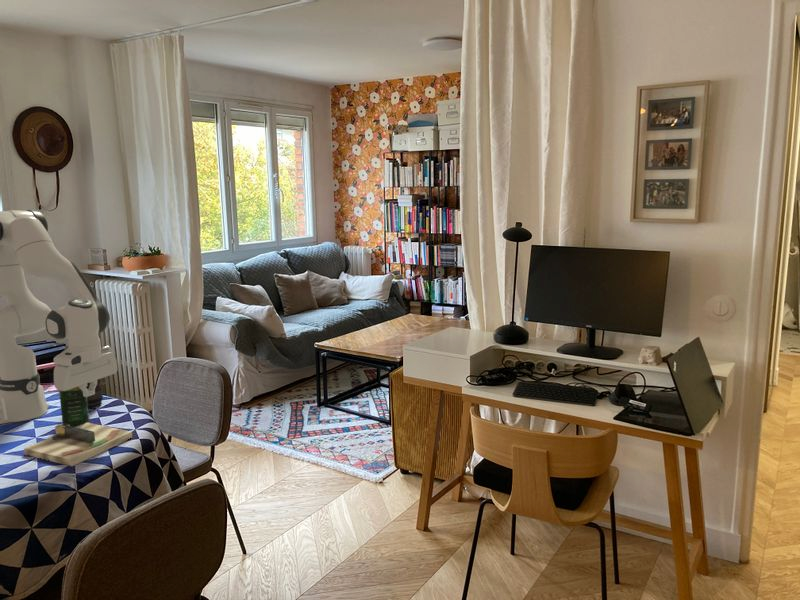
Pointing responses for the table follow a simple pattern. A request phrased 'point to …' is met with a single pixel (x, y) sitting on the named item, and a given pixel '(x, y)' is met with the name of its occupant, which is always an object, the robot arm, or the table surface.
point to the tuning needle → (74, 433)
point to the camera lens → (95, 395)
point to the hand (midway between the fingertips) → (89, 395)
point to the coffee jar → (74, 407)
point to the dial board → (78, 445)
